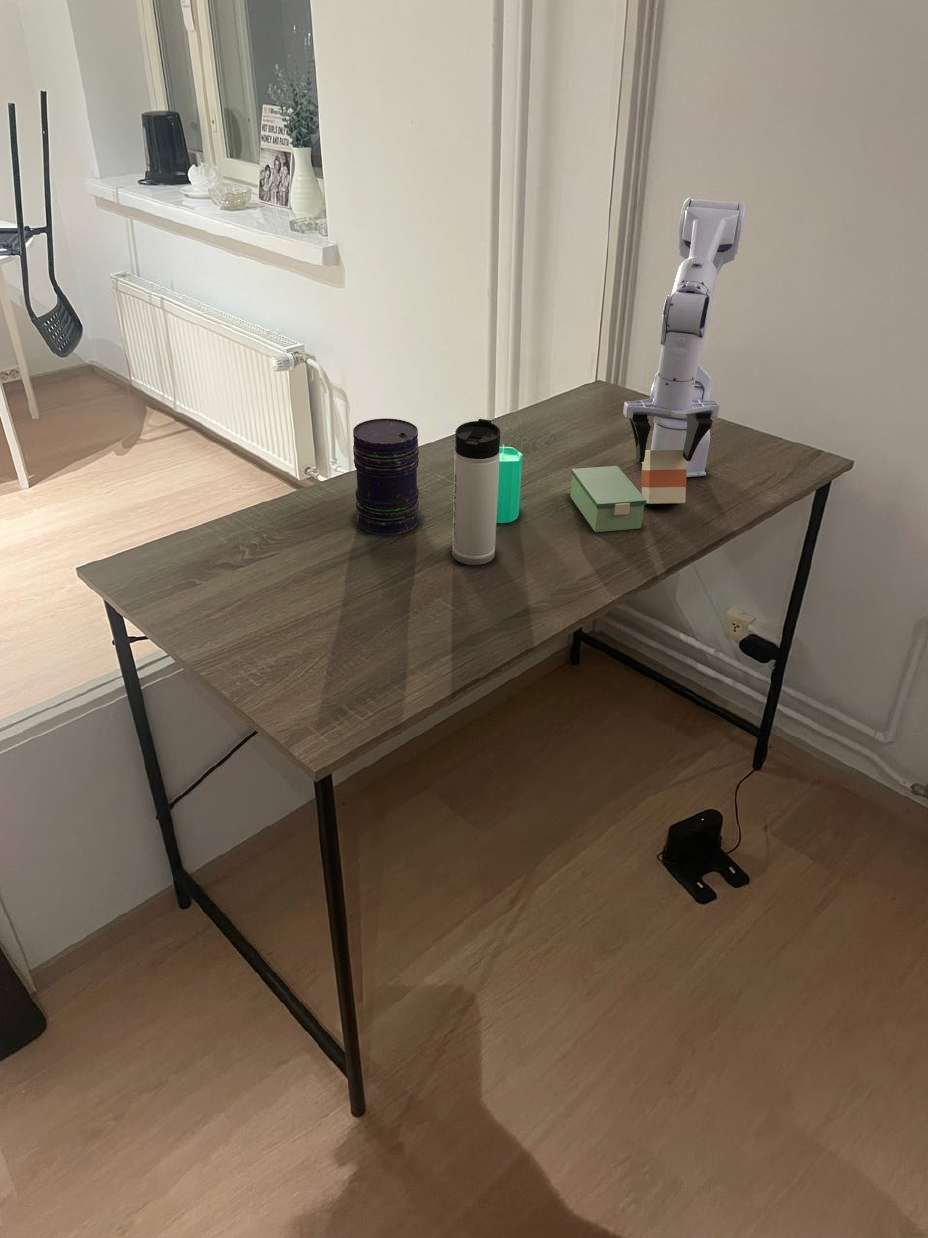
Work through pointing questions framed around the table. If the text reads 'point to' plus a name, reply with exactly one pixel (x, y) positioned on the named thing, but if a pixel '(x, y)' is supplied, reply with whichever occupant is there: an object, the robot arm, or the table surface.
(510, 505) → the candle
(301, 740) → the table surface
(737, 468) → the table surface
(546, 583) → the table surface
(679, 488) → the juice carton
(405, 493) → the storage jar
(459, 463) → the travel mug
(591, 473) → the lunchbox
